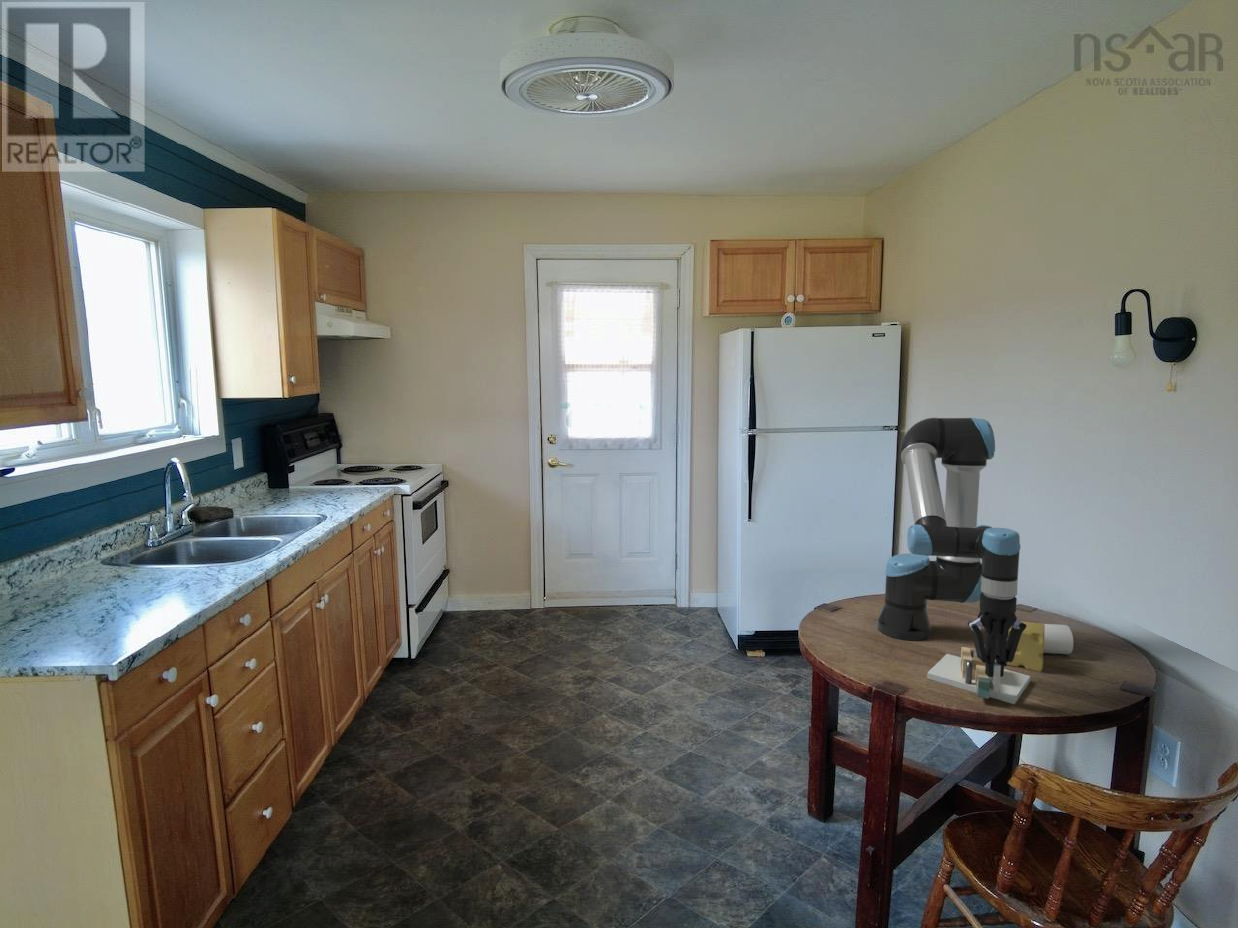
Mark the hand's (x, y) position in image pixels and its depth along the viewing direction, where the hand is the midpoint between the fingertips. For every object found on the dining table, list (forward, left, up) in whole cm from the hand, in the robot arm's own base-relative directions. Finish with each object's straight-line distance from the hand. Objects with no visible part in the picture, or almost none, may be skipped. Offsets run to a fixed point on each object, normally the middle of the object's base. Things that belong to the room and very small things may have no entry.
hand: (993, 688), depth 161 cm
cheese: (-1, +29, -3) cm, 29 cm away
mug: (+2, +42, -3) cm, 42 cm away
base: (-6, +9, -3) cm, 11 cm away
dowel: (-6, +2, -2) cm, 7 cm away
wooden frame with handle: (-4, +5, -1) cm, 6 cm away
